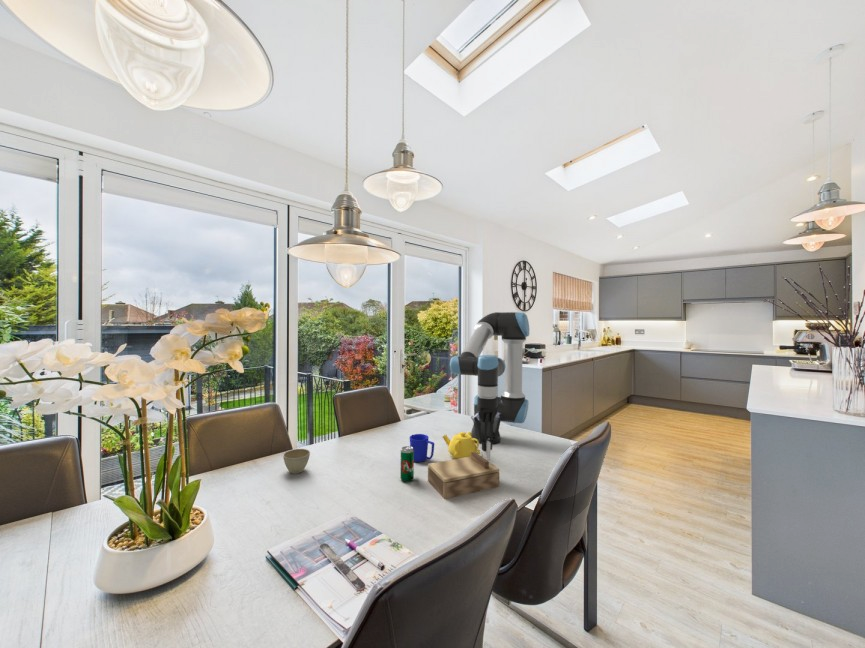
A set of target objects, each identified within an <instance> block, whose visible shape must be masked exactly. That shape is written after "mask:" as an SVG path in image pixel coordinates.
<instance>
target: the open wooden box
mask: <svg viewBox="0 0 865 648" xmlns="http://www.w3.org/2000/svg"><path fill="white" fill-rule="evenodd" d="M427 482H428V484H430V486H432V488H434V490H435V491H436V492H437V493H438V494H439V495H440V496H441V497H442V499H444V500H445V499H451V498H455V497H461V496H465V495H469V494H470V495H471V494H474V493H478V492H482V491H487V490H491V489H496V488H499V487H500V471H499V472H495V473H490V474H485V475H480V476H475V477H470V478H465V479H460V480H455V481H450V482H445V483H444V482H443V481H442V480H441V479H440V478H439V477H438V476H437V475H436V474H435V473H434V472H433V471H432V470H431V469H430V468H429V467H428V466H427Z"/></svg>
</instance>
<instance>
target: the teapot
mask: <svg viewBox="0 0 865 648" xmlns="http://www.w3.org/2000/svg"><path fill="white" fill-rule="evenodd" d="M471 434H472V433H471V431H467V433H466V432H465V431H460V432H459V433H456V434H454V435H453V436H452V438H451V440H450V438H449V437H448V435H447V434H444V435H443V436H442V439H443V440H444V442H445V443H446V445H447V447H448V453H449V454H450V456H451V457H452V458H451V460H453V459H459V458H465V457H471V452H475V453H477V454H478V455H481V450H480V449H479V447H480V446H479V445H480V443H479V441H478V440H477V439H475V438H472V437H471ZM474 440H475V441H476V442H477V443H476V442H475V441H474Z"/></svg>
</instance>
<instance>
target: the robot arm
mask: <svg viewBox="0 0 865 648" xmlns="http://www.w3.org/2000/svg"><path fill="white" fill-rule="evenodd" d="M473 330H474V331H473V333H472V335H471V337H470V338H469V340H468V342H467V343H466V345H465V347H464V349H463V351H462V352H461V353H460V355H455V356H452V357H451V358H450V361H449V369H450V372H451V373H452V374H455V375H463V376H477V394H476V395H475V396H474V401H473V415H471V416H470V418H471V420H472V422H473V426H472V428H471V430H470V432H471V433H472V434H471V437H472V438H475V439H477V440H478V441H479V445H480V444H481V450H482V457H483V458H484V459H486V460H487V461H491V451H492V450H493V445H494V444H497V443H500V442H501V433H500V431H499V430H500V425H501V422H506V423H512V424H523V423H525V421H526V419H527V415H528V410H529V400H528V399H526V395H525V394H524V393H523V346H524V345H523V344H524V343H525V342H526V341H527V338H528V337H529V336H530V322H529V318H528V315H527V314H526V313H525V312H518V311H516V312H515V311H510V312H509V311H508V312H501V311H499V312H498V311H497V312H491V313H489V314H487V315H485V316H483V317H482V318H481V319H479V320H478V321H477V323H476V324H475V326H474V329H473ZM493 336H501V341H503V342H504V359H502V358H501V357H498V356H497V355H492V354H482V353H483V351H484V349H485V346H486V344H487V343H488V341H489V340H490V339H491V338H492V337H493ZM481 354H482V355H481ZM503 374H504V375H503ZM501 376H503V380H504V381H503V383H504V384H503V391H502V393H500V396H499V393H498V387H499V386H498V385H499V384H498V383H499V381H498V380H499V379H498V378H499V377H501ZM474 441H475V440H474ZM499 441H500V442H499ZM475 444H477V442H476V441H475Z"/></svg>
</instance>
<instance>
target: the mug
mask: <svg viewBox="0 0 865 648" xmlns="http://www.w3.org/2000/svg"><path fill="white" fill-rule="evenodd" d="M429 444H430V445H431V451H430V455H429V456H430V457H428V447H429ZM409 446H411V447H413V450H414V463H415V462H416V463H422V462H425V461H426V460H429V461H430V460H431V459H433V456H434V453H435V442H434V441H431V440H429V436H428V435H427V434H424V433H423V434H422V433H416V434H412V435H410V436H409Z"/></svg>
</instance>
